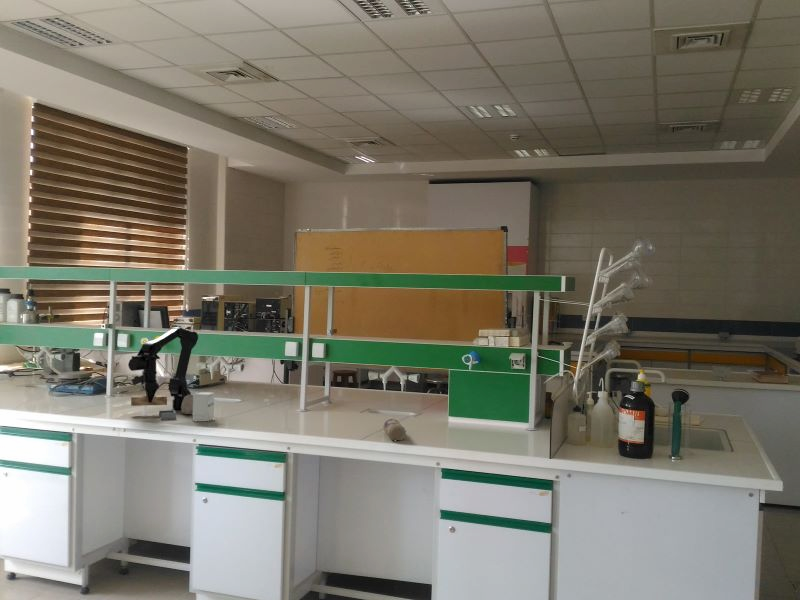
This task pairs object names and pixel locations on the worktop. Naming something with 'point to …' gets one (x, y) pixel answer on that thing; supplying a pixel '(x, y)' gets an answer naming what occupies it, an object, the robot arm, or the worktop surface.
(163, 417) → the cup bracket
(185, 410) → the pumice stone
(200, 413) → the supplement box
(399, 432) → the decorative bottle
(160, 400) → the walnut rail
